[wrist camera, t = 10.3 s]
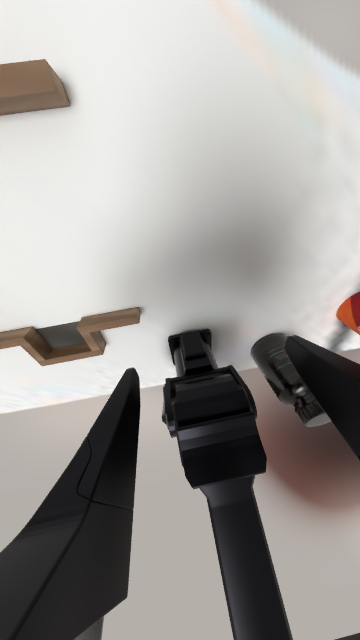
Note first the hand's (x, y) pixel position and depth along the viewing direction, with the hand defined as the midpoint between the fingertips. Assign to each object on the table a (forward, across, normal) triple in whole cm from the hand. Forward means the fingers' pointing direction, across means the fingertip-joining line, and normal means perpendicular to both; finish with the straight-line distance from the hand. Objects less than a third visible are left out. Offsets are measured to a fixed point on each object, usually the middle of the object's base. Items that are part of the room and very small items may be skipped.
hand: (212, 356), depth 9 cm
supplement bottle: (+12, -14, +16) cm, 25 cm away
